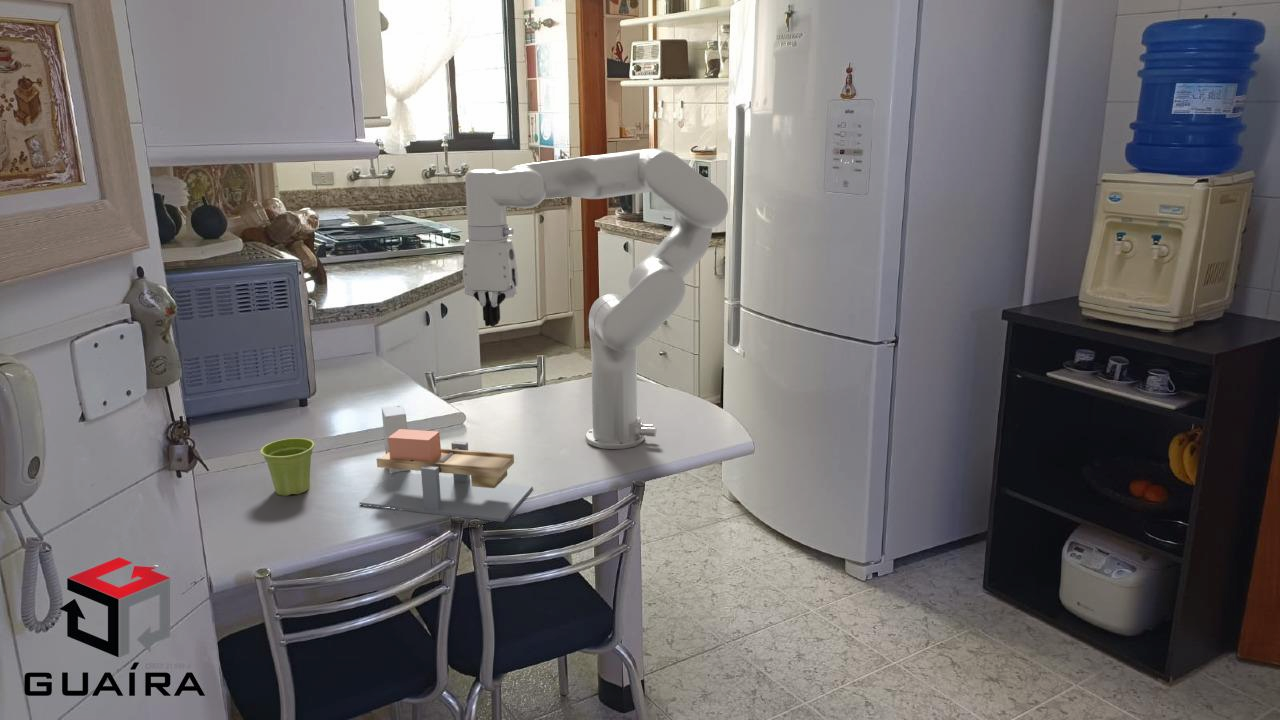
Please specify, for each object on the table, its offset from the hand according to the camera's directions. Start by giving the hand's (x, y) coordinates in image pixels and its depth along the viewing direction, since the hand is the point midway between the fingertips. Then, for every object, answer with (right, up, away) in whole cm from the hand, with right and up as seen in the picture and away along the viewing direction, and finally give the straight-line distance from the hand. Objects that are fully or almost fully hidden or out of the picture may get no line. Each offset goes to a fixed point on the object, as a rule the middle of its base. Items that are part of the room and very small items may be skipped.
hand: (492, 324), depth 189 cm
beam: (-6, -29, -16) cm, 33 cm away
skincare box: (-19, -29, -1) cm, 34 cm away
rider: (-12, -25, -16) cm, 32 cm away
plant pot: (-36, -32, -11) cm, 49 cm away
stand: (-6, -33, -15) cm, 36 cm away
